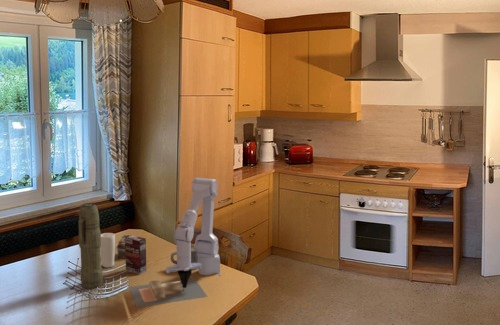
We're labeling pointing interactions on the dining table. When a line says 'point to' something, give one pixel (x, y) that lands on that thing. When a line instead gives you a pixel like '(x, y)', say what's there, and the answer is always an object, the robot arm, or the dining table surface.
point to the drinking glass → (108, 249)
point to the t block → (164, 288)
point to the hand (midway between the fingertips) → (184, 286)
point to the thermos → (90, 246)
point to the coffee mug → (193, 256)
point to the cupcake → (122, 247)
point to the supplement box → (135, 254)
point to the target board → (145, 297)
